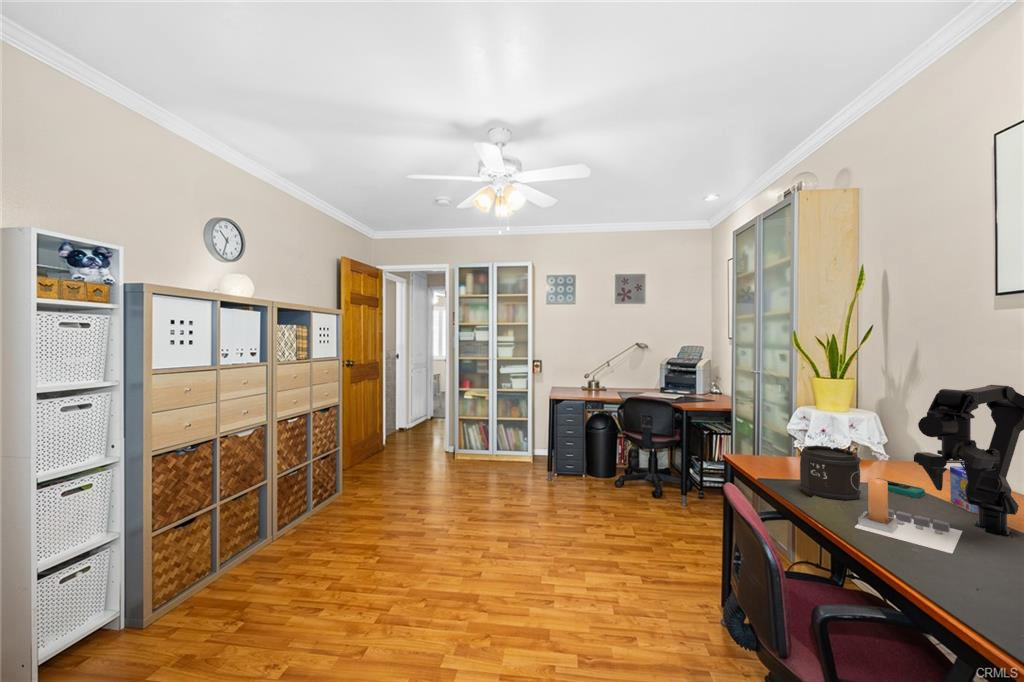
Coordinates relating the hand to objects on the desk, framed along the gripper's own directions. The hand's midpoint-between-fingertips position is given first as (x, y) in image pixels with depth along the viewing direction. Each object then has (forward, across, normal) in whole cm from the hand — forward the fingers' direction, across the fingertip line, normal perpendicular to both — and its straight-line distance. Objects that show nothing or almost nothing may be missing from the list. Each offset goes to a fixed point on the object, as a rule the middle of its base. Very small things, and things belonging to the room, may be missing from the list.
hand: (955, 490), depth 122 cm
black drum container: (+13, -12, +33) cm, 38 cm away
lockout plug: (+12, -18, +5) cm, 22 cm away
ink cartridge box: (+13, +24, +21) cm, 35 cm away
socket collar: (+12, -18, +5) cm, 22 cm away
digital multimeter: (+14, +14, +37) cm, 42 cm away
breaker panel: (+13, -12, +2) cm, 17 cm away
